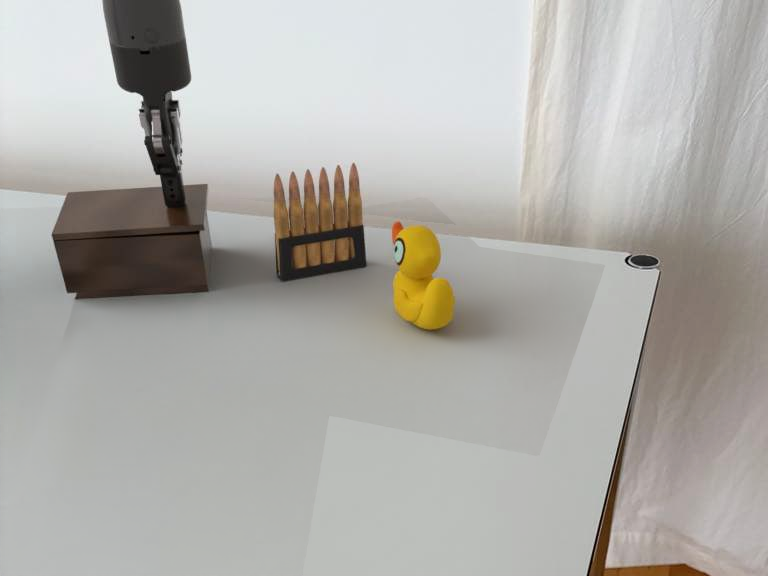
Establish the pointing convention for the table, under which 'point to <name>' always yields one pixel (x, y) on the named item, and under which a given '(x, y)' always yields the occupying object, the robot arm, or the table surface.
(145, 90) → the robot arm
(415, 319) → the duckling
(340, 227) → the ammunition clip
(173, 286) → the case
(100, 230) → the case lid
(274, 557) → the table surface
